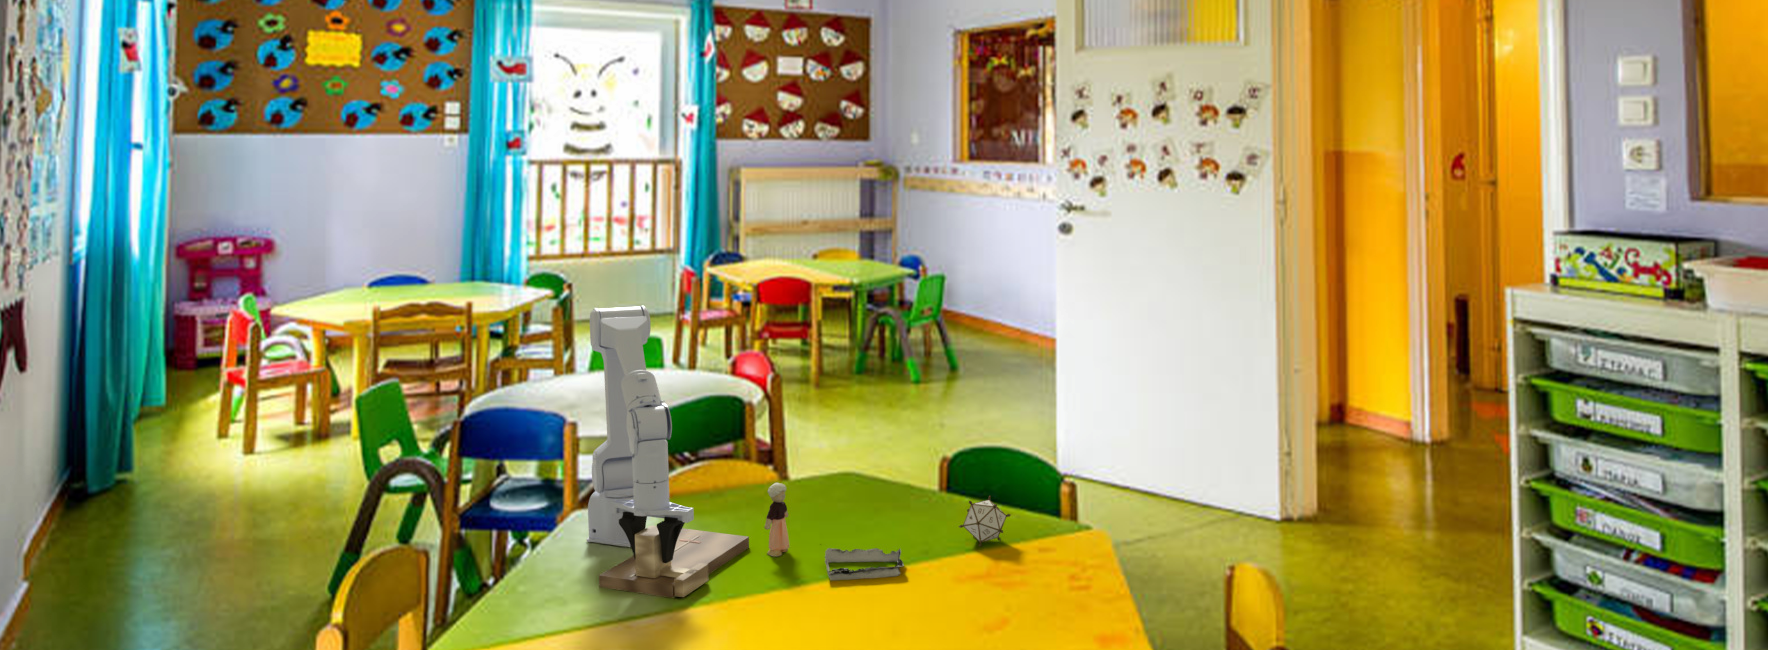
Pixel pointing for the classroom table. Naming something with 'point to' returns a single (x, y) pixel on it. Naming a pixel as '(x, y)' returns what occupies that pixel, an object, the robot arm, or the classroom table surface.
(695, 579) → the beige l-shaped block
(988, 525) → the game die
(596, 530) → the robot arm
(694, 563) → the board
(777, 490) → the grandmother figurine
